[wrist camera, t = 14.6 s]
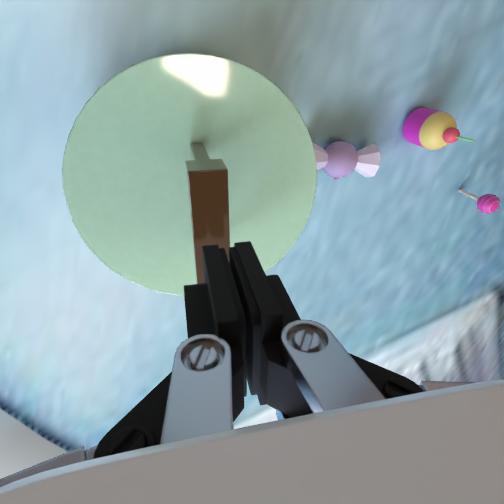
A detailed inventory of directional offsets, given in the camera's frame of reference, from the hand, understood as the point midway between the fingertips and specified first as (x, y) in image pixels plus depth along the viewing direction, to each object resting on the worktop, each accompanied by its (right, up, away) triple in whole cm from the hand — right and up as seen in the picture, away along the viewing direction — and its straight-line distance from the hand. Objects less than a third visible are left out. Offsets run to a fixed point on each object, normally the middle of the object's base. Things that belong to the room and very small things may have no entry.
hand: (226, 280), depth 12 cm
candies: (+14, +10, +19) cm, 25 cm away
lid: (-2, +4, +7) cm, 9 cm away
